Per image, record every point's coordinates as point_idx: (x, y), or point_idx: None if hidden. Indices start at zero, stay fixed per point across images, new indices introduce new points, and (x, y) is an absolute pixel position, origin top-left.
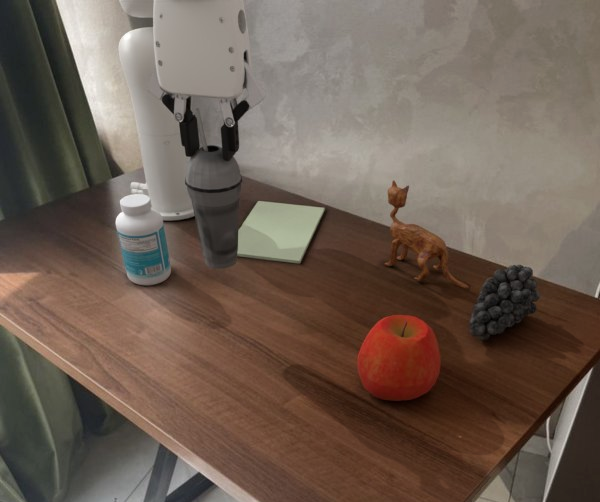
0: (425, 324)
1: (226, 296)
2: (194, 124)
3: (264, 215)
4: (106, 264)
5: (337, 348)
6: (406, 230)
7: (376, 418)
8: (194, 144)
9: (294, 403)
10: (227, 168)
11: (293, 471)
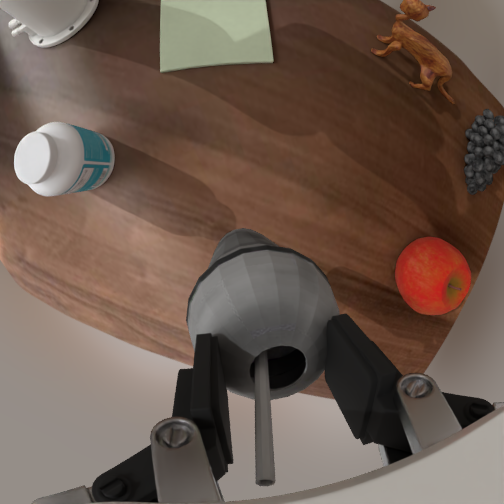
0: (470, 276)
1: (205, 166)
2: (223, 413)
3: None
4: None
5: (366, 228)
6: (415, 42)
7: (403, 308)
8: (223, 384)
9: None
10: None
11: None
